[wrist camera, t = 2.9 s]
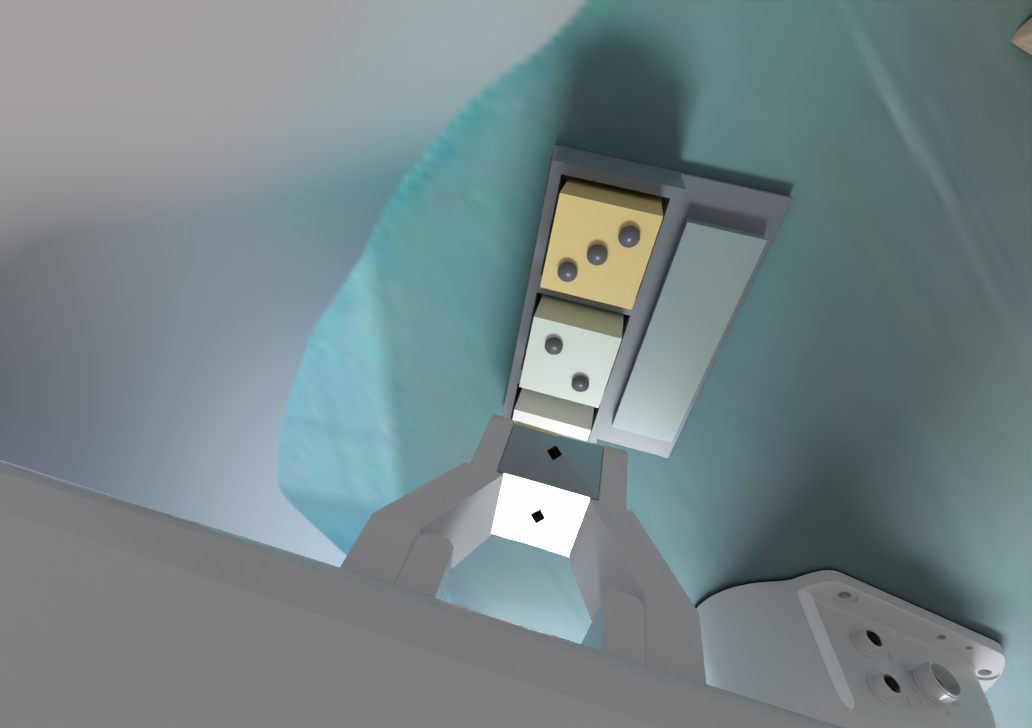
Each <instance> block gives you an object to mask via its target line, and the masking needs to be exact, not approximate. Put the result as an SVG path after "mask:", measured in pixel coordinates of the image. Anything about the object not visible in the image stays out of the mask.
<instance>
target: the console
mask: <svg viewBox="0 0 1032 728" xmlns="http://www.w3.org/2000/svg"><path fill="white" fill-rule="evenodd" d="M570 176H572V177H577V178H581V179H586V180H590V181H595V182H599V183H603V184H608V185H612V186H617V187H621V188H626V189H630V190H635V191H639V192H643V193H648V194H652V195H657V196H661V203H662V211H663V219H662V222H661V225H660V228H659V231H658V234H657V236H656V239H655V242H654V245H653V248H652V251H651V254H650V257H649V260H648V263H647V266H646V269H645V272H644V275H643V278H642V281H641V284H640V287H639V290H638V293H637V296H636V299H635V302H634V305H633V307H632V310H631V309H626V308H622V307H618V306H614V305H610V304H606V303H602V302H598V301H594V300H590V299H586V298H582V297H578V296H574V295H570V294H566V293H562V292H558V291H554V290H550V289H546V288H542V287H540V285H541V280H542V275H543V270H544V266H545V261H546V256H547V251H548V247H549V242H550V237H551V232H552V228H553V223H554V218H555V213H556V209H557V204H558V199H559V194H560V192H561V190H562V188H563V187H564V185H565V184H566V182H567V180H568V179H569V177H570ZM792 199H793V198H792V197H791V196H788V195H784V194H779V193H774V192H770V191H765V190H761V189H756V188H752V187H747V186H743V185H738V184H733V183H729V182H724V181H720V180H715V179H711V178H706V177H701V176H697V175H692V174H688V173H683V172H679V171H674V170H670V169H665V168H660V167H656V166H651V165H647V164H642V163H638V162H633V161H629V160H624V159H619V158H615V157H610V156H606V155H601V154H597V153H592V152H587V151H583V150H578V149H574V148H569V147H565V146H560V145H556V144H555V145H554V148H553V154H552V159H551V164H550V169H549V174H548V180H547V185H546V190H545V195H544V200H543V205H542V211H541V216H540V221H539V226H538V231H537V237H536V242H535V247H534V252H533V257H532V262H531V268H530V273H529V278H528V283H527V288H526V294H525V299H524V304H523V309H522V314H521V320H520V325H519V330H518V335H517V340H516V345H515V351H514V356H513V361H512V366H511V371H510V377H509V382H508V387H507V392H506V397H505V402H504V408H503V413H504V414H503V417H504V418H508V419H511V420H512V418H513V413H514V409H515V406H516V403H517V401H518V398H519V395H520V392H521V390H522V388H521V387H519V385H520V380H521V375H522V370H523V366H524V361H525V356H526V351H527V347H528V342H529V337H530V332H531V328H532V323H533V318H534V315H535V313H536V310H537V308H538V305H539V303H540V301H541V298H542V296H543V294H546V295H550V296H554V297H558V298H562V299H566V300H570V301H574V302H578V303H582V304H586V305H590V306H594V307H598V308H602V309H606V310H610V311H614V312H618V313H622V314H624V317H623V331H622V340H621V343H620V346H619V349H618V352H617V355H616V358H615V361H614V364H613V367H612V370H611V373H610V376H609V378H608V381H607V384H606V387H605V390H604V393H603V396H602V399H601V402H600V405H599V408H596V407H594V412H593V419H592V427H591V432H590V435H589V438H588V442H592V443H595V444H596V442H597V439H600V440H604V441H608V442H611V443H615V444H618V445H622V446H626V447H629V448H633V449H637V450H640V451H644V452H648V453H651V454H655V455H659V456H662V457H666V458H668V457H669V455H670V453H671V451H672V449H673V446H674V444H675V442H676V440H677V438H678V436H679V434H680V432H681V430H682V428H683V426H684V424H685V421H686V419H687V417H688V415H689V413H690V411H691V409H692V407H693V405H694V403H695V401H696V399H697V397H698V394H699V392H700V390H701V388H702V386H703V384H704V382H705V380H706V378H707V376H708V374H709V372H710V369H711V367H712V365H713V363H714V361H715V359H716V357H717V355H718V353H719V351H720V349H721V347H722V345H723V342H724V340H725V338H726V336H727V334H728V332H729V330H730V328H731V326H732V324H733V322H734V320H735V317H736V315H737V313H738V311H739V309H740V307H741V305H742V303H743V301H744V299H745V297H746V295H747V293H748V290H749V288H750V286H751V284H752V282H753V280H754V278H755V276H756V274H757V272H758V270H759V268H760V265H761V263H762V261H763V259H764V257H765V255H766V253H767V251H768V249H769V247H770V245H771V243H772V241H773V238H774V236H775V234H776V232H777V230H778V228H779V226H780V224H781V222H782V220H783V218H784V216H785V213H786V211H787V209H788V207H789V205H790V203H791V201H792Z"/></svg>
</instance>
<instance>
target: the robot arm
mask: <svg viewBox="0 0 1032 728" xmlns="http://www.w3.org/2000/svg"><path fill="white" fill-rule="evenodd" d="M626 483H627V453H626V451H624V450H620V449H616V448H612V447H608V446H605V445H603V446H602V445H599V444H595V443H592V442H588V441H584V440H581V439H577V438H573V437H569V436H566V435H562V434H559V433H555V432H552V431H549V430H545V429H542V428H539V427H535V426H532V425H529V424H525V423H522V422H519V421H514V420H511V419H508V418H504V417H501V416H498V415H494V414H493V416H492V417H491V418H490V420H489V422H488V425H487V427H486V429H485V432H484V434H483V436H482V439H481V441H480V443H479V446H478V448H477V450H476V453H475V455H474V457H473V460H472V462H471V464H467V463H462V464H461V465H459V466H457V467H455V468H453V469H452V470H450V471H448V472H446V473H444V474H443V475H441V476H439V477H437V478H436V479H434V480H432V481H430V482H428V483H427V484H425V485H423V486H421V487H419V488H418V489H416V490H414V491H412V492H410V493H409V494H407V495H405V496H403V497H401V498H400V499H398V500H396V501H394V502H392V503H391V504H389V505H387V506H385V507H383V508H382V509H380V510H378V511H376V512H374V513H373V514H372V515H371V517H370V519H369V520H368V522H367V524H366V525H365V527H364V529H363V530H362V532H361V534H360V535H359V537H358V539H357V540H356V542H355V544H354V545H353V547H352V548H351V550H350V552H349V553H348V555H347V557H346V559H345V560H344V562H343V564H342V565H341V567H340V568H339V567H336V566H333V565H330V564H327V563H324V562H320V561H317V560H314V559H311V558H307V557H304V556H301V555H298V554H295V553H292V552H289V551H286V550H282V549H279V548H276V547H273V546H270V545H266V544H264V543H261V542H257V541H254V540H251V539H248V538H245V537H241V536H238V535H235V534H232V533H229V532H225V531H223V530H220V529H216V528H213V527H210V526H207V525H204V524H200V523H198V522H194V521H191V520H188V519H185V518H182V517H179V516H175V515H172V514H169V513H166V512H163V511H159V510H156V509H153V508H150V507H147V506H144V505H141V504H138V503H134V502H131V501H128V500H125V499H122V498H119V497H116V496H112V495H109V494H106V493H103V492H100V491H97V490H94V489H90V488H87V487H84V486H81V485H78V484H74V483H72V482H68V481H65V480H62V479H59V478H56V477H53V476H50V475H46V474H43V473H40V472H36V471H33V470H31V469H27V468H24V467H21V466H18V465H14V464H12V463H9V462H5V461H2V460H0V728H996V725H995V721H994V717H993V714H992V711H991V708H990V705H989V703H988V700H987V698H986V696H985V693H984V692H985V691H987V690H988V689H989V688H990V687H991V686H992V685H993V684H994V683H995V682H996V681H997V680H998V678H999V677H1000V676H1001V674H1002V672H1003V670H1004V668H1005V663H1006V657H1005V654H1004V652H1003V650H1002V648H1001V646H1000V644H999V643H997V642H996V641H994V640H992V639H990V638H987V637H985V636H983V635H981V634H978V633H976V632H974V631H972V630H969V629H967V628H965V627H963V626H960V625H958V624H956V623H954V622H951V621H949V620H947V619H944V618H942V617H940V616H938V615H935V614H933V613H931V612H929V611H926V610H924V609H922V608H920V607H917V606H915V605H913V604H911V603H908V602H906V601H904V600H901V599H899V598H897V597H895V596H892V595H890V594H888V593H886V592H883V591H881V590H879V589H877V588H874V587H872V586H870V585H868V584H865V583H863V582H861V581H859V580H856V579H854V578H852V577H849V576H847V575H845V574H843V573H840V572H837V571H833V570H823V571H817V572H813V573H809V574H806V575H803V576H800V577H797V578H794V579H791V580H785V581H775V582H760V583H752V584H746V585H741V586H737V587H733V588H730V589H726V590H724V591H721V592H719V593H717V594H715V595H713V596H711V597H709V598H708V599H706V600H705V601H704V602H702V603H701V604H700V605H699V606H698V607H697V609H696V608H695V607H694V605H693V603H692V602H691V600H690V599H689V597H688V596H687V594H686V593H685V591H684V590H683V588H682V587H681V585H680V583H679V582H678V580H677V579H676V577H675V576H674V574H673V573H672V571H671V570H670V568H669V567H668V565H667V563H666V562H665V560H664V559H663V557H662V556H661V554H660V553H659V551H658V550H657V548H656V547H655V545H654V543H653V542H652V540H651V539H650V537H649V536H648V534H647V533H646V531H645V530H644V528H643V527H642V525H641V523H640V522H639V520H638V519H637V517H636V516H635V514H634V513H633V511H630V510H627V509H626ZM491 534H495V535H498V536H502V537H506V538H509V539H513V540H517V541H520V542H524V543H528V544H531V545H534V546H537V547H540V548H543V549H546V550H549V551H552V552H555V553H558V554H561V555H564V556H567V557H569V558H568V560H569V563H570V565H571V568H572V570H573V573H574V576H575V578H576V581H577V584H578V586H579V589H580V591H581V594H582V597H583V599H584V602H585V604H586V607H587V610H588V612H589V615H590V618H591V620H592V623H591V625H590V627H589V629H588V632H587V634H586V636H585V638H584V640H583V642H582V644H578V643H575V642H572V641H569V640H566V639H562V638H559V637H556V636H553V635H550V634H547V633H544V632H540V631H537V630H534V629H531V628H528V627H525V626H522V625H518V624H515V623H512V622H509V621H506V620H503V619H500V618H496V617H493V616H490V615H487V614H484V613H481V612H478V611H474V610H471V609H468V608H465V607H462V606H459V605H456V604H453V603H449V602H446V601H445V600H446V593H447V587H448V581H449V574H450V570H451V569H452V568H453V567H454V566H456V565H457V564H458V563H459V562H460V561H461V560H463V559H464V558H465V557H466V556H467V555H469V554H470V553H471V552H472V551H473V550H474V549H476V548H477V547H478V546H479V545H480V544H481V543H483V542H484V541H485V540H486V539H487V538H489V537H490V536H491ZM706 679H707V683H708V684H706Z"/></svg>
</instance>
